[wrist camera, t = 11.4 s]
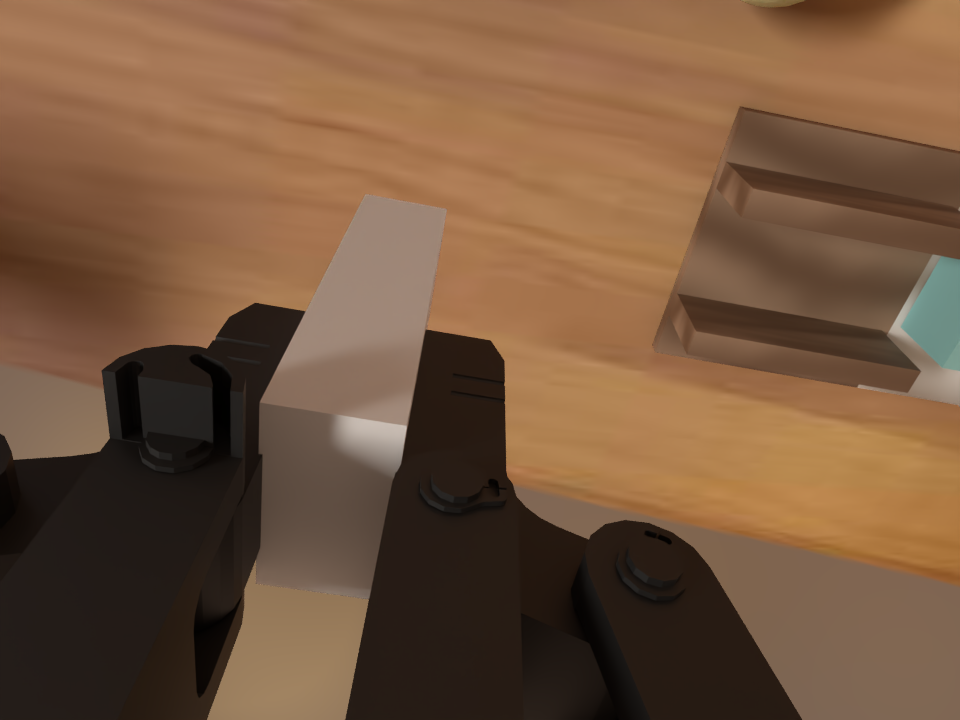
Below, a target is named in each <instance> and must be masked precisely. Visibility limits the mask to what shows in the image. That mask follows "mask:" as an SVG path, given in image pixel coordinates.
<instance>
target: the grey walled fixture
mask: <svg viewBox="0 0 960 720" xmlns="http://www.w3.org/2000/svg"><path fill="white" fill-rule="evenodd" d="M941 256H944V257H949V258H954V259H959V260H960V151H955V150H950V149H945V148H940V147H935V146H931V145H926V144H921V143H916V142H911V141H906V140H901V139H896V138H891V137H886V136H882V135H877V134H872V133H867V132H862V131H857V130H852V129H847V128H842V127H838V126H833V125H828V124H823V123H818V122H813V121H808V120H803V119H798V118H793V117H789V116H784V115H779V114H774V113H769V112H764V111H759V110H754V109H749V108H744V107H740V108H739V110H738V113H737V116H736V118H735V121H734V124H733V127H732V129H731V132H730V135H729V138H728V140H727V143H726V146H725V148H724V151H723V154H722V157H721V159H720V162H719V165H718V168H717V170H716V173H715V176H714V178H713V181H712V184H711V187H710V189H709V192H708V195H707V198H706V200H705V203H704V206H703V208H702V211H701V214H700V217H699V219H698V222H697V225H696V227H695V230H694V233H693V236H692V238H691V241H690V244H689V247H688V249H687V252H686V255H685V257H684V260H683V263H682V266H681V268H680V271H679V274H678V277H677V279H676V282H675V285H674V287H673V290H672V293H671V296H670V298H669V301H668V304H667V307H666V309H665V312H664V315H663V317H662V320H661V323H660V326H659V328H658V331H657V334H656V336H655V339H654V342H653V348H654V350H655V352H656V353H662V354H668V355H673V356H679V357H685V358H691V359H696V360H702V361H708V362H714V363H719V364H725V365H731V366H737V367H742V368H748V369H754V370H760V371H765V372H771V373H777V374H783V375H788V376H794V377H800V378H806V379H811V380H817V381H823V382H829V383H834V384H840V385H846V386H852V387H857V388H863V389H869V390H875V391H880V392H886V393H892V394H898V395H903V396H909V397H915V398H921V399H926V400H932V401H938V402H944V403H949V404H955V405H958V406H959V407H960V371H956V370H951V369H945V368H942V367H941V366H940V365H939V364H938V363H937V362H936V361H935V360H934V359H932V358H931V357H930V356H929V355H928V354H927V353H926V352H925V351H924V350H923V349H922V348H921V347H920V346H919V345H918V344H917V343H916V342H915V341H914V340H913V339H912V338H911V337H910V336H909V335H908V334H907V333H906V332H905V331H904V330H903V329H902V328H901V325H902V324H903V322H904V320H905V319H906V317H907V315H908V313H909V312H910V310H911V308H912V306H913V305H914V303H915V301H916V299H917V298H918V296H919V294H920V293H921V291H922V289H923V287H924V286H925V284H926V282H927V280H928V279H929V277H930V275H931V273H932V272H933V270H934V268H935V266H936V265H937V263H938V261H939V260H940V258H941Z"/></svg>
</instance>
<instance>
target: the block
mask: <svg viewBox="0 0 960 720" xmlns="http://www.w3.org/2000/svg"><path fill="white" fill-rule="evenodd" d="M901 328H902V329H903V330H904V331H905V332H906V333H907V334H908V335H909V336H910V337H911V338H912V339H913V340H914V341H915V342H916V343H917V344H918V345H919V346H920V347H921V348H922V349H923V350H924V351H925V352H926V353H927V354H928V355H929V356H930V357H931V358H932V359H934V360H935V361H936V362H937V363H938V364H939V365H940V366H941V367H942V368H945V369H951V370H956V371H960V260H959V259H954V258H949V257H944V256H941V258H940V260H939V261H938V263H937V265H936V266H935V268H934V270H933V272H932V273H931V275H930V277H929V279H928V280H927V282H926V284H925V286H924V287H923V289H922V291H921V293H920V294H919V296H918V298H917V299H916V301H915V303H914V305H913V306H912V308H911V310H910V312H909V313H908V315H907V317H906V319H905V320H904V322H903V324H902V325H901Z"/></svg>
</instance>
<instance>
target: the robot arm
mask: <svg viewBox="0 0 960 720" xmlns="http://www.w3.org/2000/svg"><path fill="white" fill-rule="evenodd" d="M446 212H447V209H444V208H439V207H433V206H428V205H422V204H417V203H411V202H406V201H401V200H395V199H390V198H384V197H379V196H374V195H368V194H365V196H364V198H363V200H362V202H361V204H360V206H359V208H358V210H357V212H356V214H355V216H354V218H353V220H352V222H351V224H350V225H349V227H348V229H347V231H346V233H345V235H344V237H343V239H342V241H341V243H340V245H339V247H338V249H337V251H336V253H335V255H334V257H333V259H332V261H331V263H330V265H329V267H328V269H327V271H326V273H325V275H324V277H323V279H322V281H321V283H320V285H319V287H318V288H317V290H316V292H315V294H314V296H313V298H312V300H311V302H310V304H309V306H308V308H307V310H306V311H300V310H294V309H288V308H282V307H277V306H271V305H265V304H259V303H254V304H252V305H250V306H249V307H247V308H245V309H243V310H241V311H240V312H238V313H236V314H234V315H232V316H230V317H229V318H228V320H227V321H226V323H225V324H224V326H223V327H222V328H221V330H220V331H219V333H218V334H217V336H216V339H215V341H214V340H213V341H212V343H211V344H210V346H209V347H208V348H207V349H206V348H202V347H199V346H183V345H166V346H159V347H151V348H144V349H141V350H138V351H136V352H133V353H130V354H127V355H124V356H122V357H119V358H118V359H116V360H115V361H114V362H112V363H111V364H110V365H108V366H107V367H106V368H104V369H103V370H102V377H103V385H104V393H105V401H106V409H107V417H108V425H109V433H110V439H109V440H108V442H107V443H106V444H105V446H104V447H103V448H102V449H101V451H100V452H97V453H92V454H84V455H77V456H67V457H52V458H36V459H22V460H13V456H12V452H11V450H10V447H9V445H8V443H7V441H6V439H5V437H4V436H3V435H1V434H0V720H207V718H208V715H209V712H210V709H211V706H212V704H213V701H214V699H215V696H216V693H217V690H218V688H219V685H220V682H221V679H222V677H223V674H224V671H225V669H226V666H227V663H228V660H229V658H230V655H231V652H232V649H233V647H234V644H235V641H236V639H237V636H238V633H239V630H240V628H241V625H242V618H243V611H244V589H245V586H246V583H247V581H248V578H249V576H250V573H251V570H252V567H253V565H254V563H255V560H256V584H263V585H270V586H277V587H285V588H291V589H298V590H307V591H313V592H320V593H327V594H334V595H341V596H348V597H356V598H363V599H369V603H368V608H367V613H366V618H365V623H364V628H363V634H362V638H361V643H360V648H359V653H358V658H357V663H356V669H355V674H354V679H353V684H352V689H351V694H350V699H349V704H348V709H347V714H346V719H345V720H802V719H801V717H800V715H799V714H798V712H797V710H796V709H795V707H794V705H793V704H792V702H791V700H790V699H789V697H788V695H787V694H786V692H785V690H784V689H783V687H782V685H781V684H780V682H779V680H778V679H777V677H776V676H775V674H774V672H773V671H772V669H771V667H770V666H769V664H768V662H767V661H766V659H765V657H764V656H763V654H762V653H761V651H760V649H759V647H758V646H757V644H756V643H755V641H754V639H753V638H752V636H751V634H750V633H749V631H748V629H747V628H746V626H745V624H744V623H743V621H742V619H741V618H740V616H739V614H738V613H737V611H736V610H735V608H734V606H733V605H732V603H731V601H730V600H729V598H728V596H727V595H726V593H725V592H724V590H723V588H722V586H721V585H720V583H719V581H718V580H717V578H716V577H715V575H714V573H713V572H712V570H711V568H710V567H709V566H708V564H707V563H706V562H705V561H704V559H703V558H702V557H701V556H700V555H699V553H698V552H697V551H696V550H695V549H694V548H693V547H692V546H691V545H689V544H688V543H686V542H685V541H684V540H682V539H681V538H679V537H678V536H676V535H675V534H674V533H672V532H670V531H667V530H664V529H662V528H660V527H657V526H655V525H652V524H650V523H644V522H636V521H627V520H624V521H619V522H614V523H609V524H605V525H604V526H603V527H601V528H600V529H598V530H597V531H596V532H595V533H593V534H592V535H591V536H590V539H589V540H588V539H586V538H583V537H581V536H579V535H576V534H574V533H571V532H569V531H566V530H564V529H562V528H559V527H557V526H555V525H553V524H551V523H549V522H547V521H545V520H543V519H541V518H539V517H538V516H537V515H536V514H534V513H533V512H531V511H530V510H529V509H528V508H526V507H525V506H524V505H523V503H522V502H521V501H520V500H519V499H518V498H517V497H516V494H515V491H514V487H513V484H512V482H511V481H510V480H509V479H508V477H507V473H506V433H505V404H504V402H505V386H504V383H505V368H504V360H503V358H502V357H501V355H500V354H499V352H498V351H497V349H496V348H495V346H494V345H493V343H492V342H491V341H490V340H484V339H478V338H473V337H467V336H461V335H455V334H449V333H443V332H437V331H432V330H427V327H428V321H429V315H430V309H431V303H432V297H433V291H434V285H435V279H436V273H437V267H438V260H439V254H440V248H441V242H442V236H443V230H444V224H445V218H446Z"/></svg>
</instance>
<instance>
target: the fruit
mask: <svg viewBox="0 0 960 720" xmlns="http://www.w3.org/2000/svg"><path fill="white" fill-rule="evenodd" d="M741 1H743V2H745V3H748V4H751V5H754V6H760V7H770V8H773V7H784V6H790V5H793V4H797V3H800V2H803V1H805V0H741Z"/></svg>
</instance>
